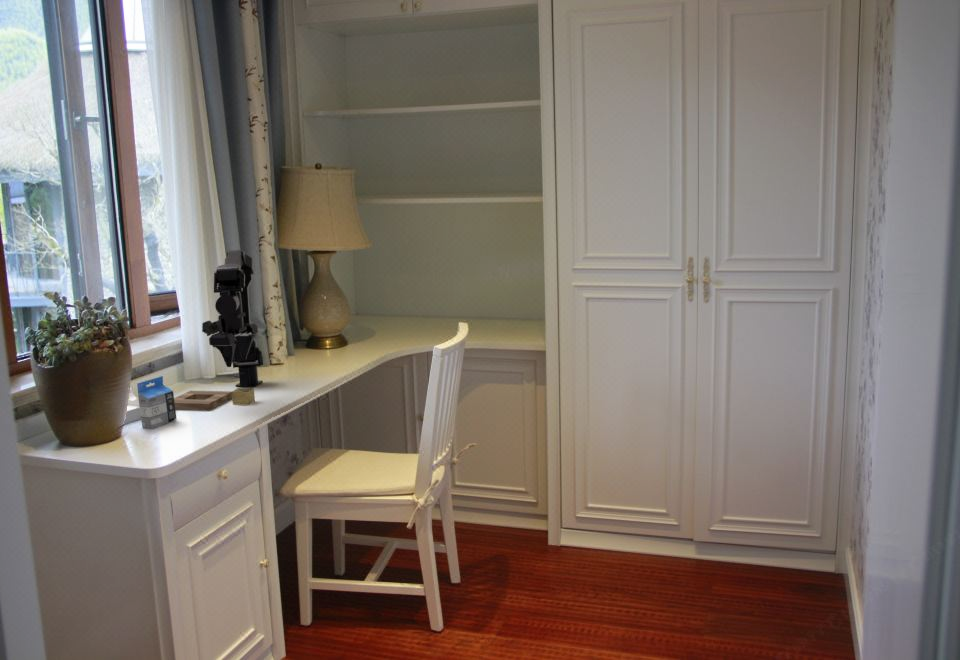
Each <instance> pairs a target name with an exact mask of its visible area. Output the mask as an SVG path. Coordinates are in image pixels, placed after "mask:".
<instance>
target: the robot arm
mask: <svg viewBox="0 0 960 660" xmlns="http://www.w3.org/2000/svg"><path fill="white" fill-rule="evenodd" d="M253 260H254V259H253V258H252V256H249V255H248V254H246V253H245V250H242V249H236V250H235V249H233V250H232V249H231V250H229V251H227V252H226V257H225V258H224V264H221V265H218V266H217V267H216V270H214V272H213V293H214V294H217V293H219V297H218V298H217V300H216V301H215V305H214V306H215V310H216V311H217V313H218V314H219V315H218V317H217V318H218V320H215V321H213V322H212V321H211V320H207V321H204V322H202V326H201V327H202V330H201V332H202V333H203V334H206V336H207V337H209V338H208V342H209V346H211V347H213V348H215V349H217V350H218V351H219V352H220V353H221V356H222V358H223V360H224V362H225V366H226V367H227V368H231V367H233V369H235V368H237V369H238V378H239V379H238V380H239V382H238V383H236V384H235V387H239V388H254V387H256V386H258V385H260V384H262V383H263V380H259V373H258V367H261V366H264V357H263V352H262V350H261V349H260V347H259V346H258V340H257V339H256V338H255V337H256V335H257V333H259V330H258V325H257V324H255V323H252V322H251V307H250V306H251V305H250V292H249V291H250V290H249V288H250V286H251V285H252V282H253V279H254V275H255V271H256V270H255V263H254V261H253Z"/></svg>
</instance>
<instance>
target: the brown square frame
mask: <svg viewBox="0 0 960 660" xmlns="http://www.w3.org/2000/svg"><path fill="white" fill-rule="evenodd" d="M232 391H233V390H231V391H230V390H229V391H228V390H224V391H223V390H189V391H186V392H184V393H182V394H180V395H178V396H176V397H174V402H175V410H176V411H180V410H181V411H207V412H208V411H209V412H210V411H211V410H213V409H215V408H217V407H219V406H221V405H223V404H225V403H227V402H229V401H230V400H232Z"/></svg>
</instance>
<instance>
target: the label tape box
mask: <svg viewBox="0 0 960 660" xmlns="http://www.w3.org/2000/svg"><path fill="white" fill-rule="evenodd" d="M150 384H153V385H150ZM148 385H149V386H148ZM136 386H137V392H138V399H139V406H140V413H141V419H140V420H141V427H142V428H143V429H155V428H158V427H161V426H163V425H166V424H169V423H172V422H175V421H177V410H175V402H174V398H175V396H174V391H173V390H172V389H171V388H170V387H167V386H166V385H164V376H163V375H162V376H158V377H155V378H151V379H148V380H147V379H146V380H145V381H142V382H138V383H137V385H136Z"/></svg>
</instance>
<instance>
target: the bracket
mask: <svg viewBox="0 0 960 660" xmlns="http://www.w3.org/2000/svg"><path fill="white" fill-rule="evenodd" d="M129 388H130V387H129ZM136 395H137V396H136ZM136 395H135V394H134V392H133V388H130V393H129V399H128V406H127V413H126V419H125V421H124V424H123V425H126V424H128V423H132V422H135V421H138V420H141V413H140V406H139V399H138V391H137V394H136Z"/></svg>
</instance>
